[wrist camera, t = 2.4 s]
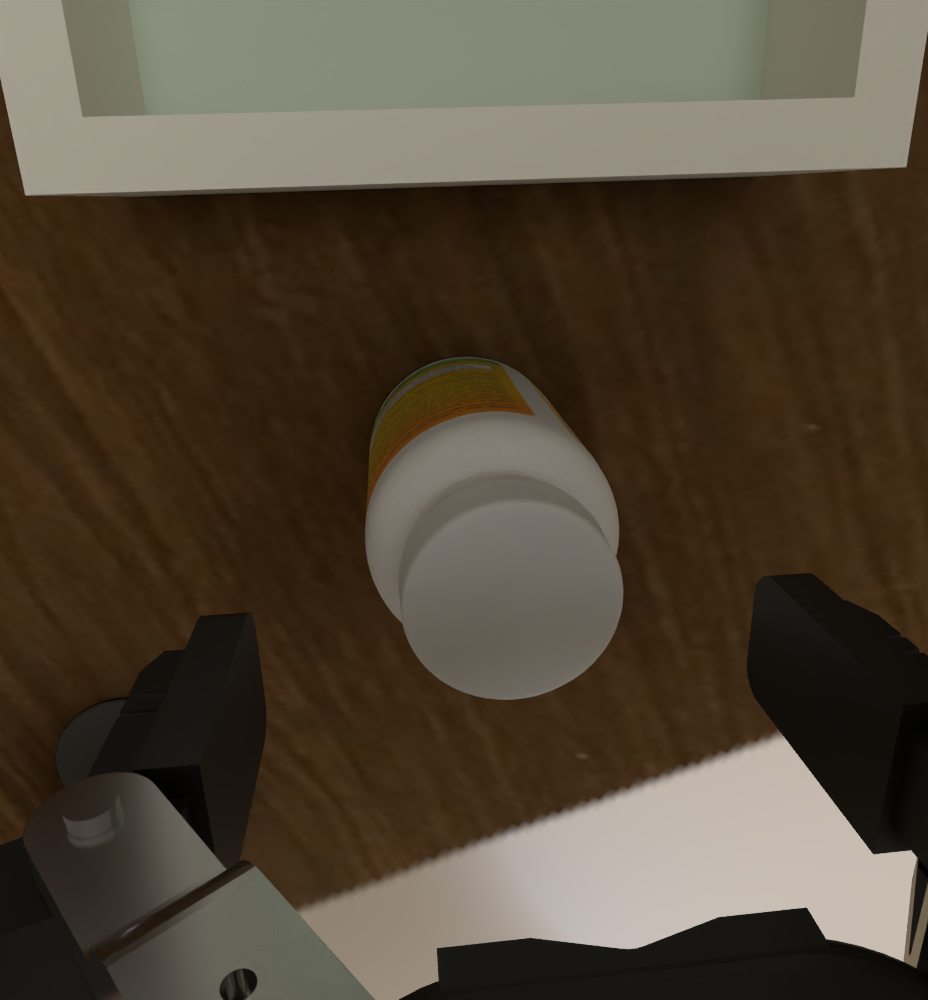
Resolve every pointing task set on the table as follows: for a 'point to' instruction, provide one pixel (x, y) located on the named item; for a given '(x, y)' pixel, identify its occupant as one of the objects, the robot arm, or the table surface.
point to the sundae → (85, 740)
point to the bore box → (451, 91)
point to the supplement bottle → (490, 531)
